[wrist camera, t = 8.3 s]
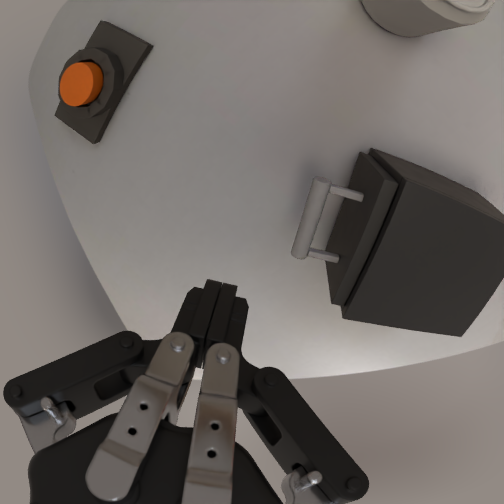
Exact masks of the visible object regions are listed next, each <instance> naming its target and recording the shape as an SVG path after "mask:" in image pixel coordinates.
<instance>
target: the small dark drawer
mask: <svg viewBox="0 0 504 504" xmlns="http://www.w3.org/2000/svg"><path fill="white" fill-rule="evenodd" d="M398 185H399V184H398V183H397V181H396V180H395V179H394V178H393V177H392V176H391V175H390V174H389V173H388V172H387V171H386V170H385V169H384V168H383V167H382V166H381V165H380V164H379V163H378V162H377V161H376V160H375V159H374V158H373V157H372V156H371V155H368V154H365V153H362V152H360V153H359V156H358V159H357V162H356V165H355V169H354V172H353V175H352V178H351V181H350V184H349V187H348V188H344V187H341V186H337V185H334V184H331V182H330V181H329V180H328V179H326V178H323V177H319V176H315V177H314V178H313V182H312V185H311V188H310V192H309V195H308V198H307V202H306V205H305V208H304V212H303V215H302V218H301V222H300V225H299V228H298V231H297V235H296V238H295V241H294V244H293V247H292V251H291V254H292V256H293V257H295V258H297V259H305V258H306V257H307V256H308V257H313V258H317V259H321V260H325V262H326V269H327V276H328V283H329V290H330V298H331V304H335V305H340V306H344V304H345V303H346V301H347V299H348V297H349V295H350V293H351V291H352V289H353V287H354V285H355V283H356V284H357V282H358V280H359V278H360V276H361V273H362V271H363V269H364V267H365V265H366V263H367V261H368V259H369V257H370V255H371V252H372V250H373V248H374V246H375V244H376V241H377V239H378V237H379V235H380V232H381V230H382V228H383V226H384V223H385V221H386V219H387V216H388V214H389V211H390V209H391V206H392V204H393V201H394V199H395V196H396V194H397V191H398V189H399V186H398ZM328 192H329V193H332V194H336V195H339V196H343V197H345V198H344V201H343V204H342V207H341V210H340V213H339V215H338V218H337V221H336V224H335V226H334V229H333V232H332V234H331V237H330V240H329V242H328V245H327V248H326V250H325V251H322V250H318V249H314V248H310V245H311V243H312V240H313V237H314V234H315V231H316V228H317V225H318V222H319V219H320V216H321V213H322V210H323V207H324V204H325V201H326V198H327V195H328Z"/></svg>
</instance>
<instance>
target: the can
mask: <svg viewBox="0 0 504 504" xmlns="http://www.w3.org/2000/svg"><path fill="white" fill-rule="evenodd" d="M361 1H362V3H363V5H364V7H365V10H366V11H367V12H368V14H369V15H370V16H371V17H372V19H373V20H374V21H375V22H376V23H378V24H379V25H380V26H382V27H383V28H384V29H386V30H388V31H390V32H392V33H394V34H396V35H400V36H405V37H417V36H422V35H426V34H430V33H434V32H438V31H442V30H447V29H451V28H456V27H461V26H467V25H472V24H475V23H478V22H480V21H482V20H484V18H485V17H486V16H487V14H488V13H489V10H490V8H491V7H492V5H493V4H494V0H361Z"/></svg>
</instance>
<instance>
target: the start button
mask: <svg viewBox="0 0 504 504" xmlns="http://www.w3.org/2000/svg"><path fill="white" fill-rule="evenodd" d="M102 86H103V74H102V71H101V69H100V67H99V66H98V65H96V64H95V63H92V62H80V63H75V64H72V65H71V66H69V67H68V68H67V69H66V71H65V72H64V74H63V76H62V78H61V81H60V94H61V97H62V99H63V100H64V102H65V103H66V104H68V105H70V106H79V105H83V104H88V103H90V102H92V101H93V100H95V99H96V98H97V96H98V95H99V93H100V92H101V89H102Z"/></svg>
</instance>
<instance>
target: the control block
mask: <svg viewBox="0 0 504 504" xmlns="http://www.w3.org/2000/svg"><path fill="white" fill-rule="evenodd" d="M152 47H153V46H152V45H151V44H149V43H147V42H145V41H143V40H142V39H140V38H138V37H136V36H134V35H132V34H130V33H129V32H127V31H125V30H123V29H121V28H119V27H117V26H115V25H113V24H111V23H109V22H106V21H100V22H99V24H98V26H97V27H96V29H95V31H94V32H93V34H92V36H91V38H90V39H89V41H88V43H87V45H86V47H85V49H83V50H79V51H78V52H77V53H76V54H74V55H73V56H72V57H71V58H70V59H69V60H68V61H67V62H66V64H65V66H64V68H63V70H62V72H61V75H60V77H59V94H58V95H59V98H60V103H59V105H58V108H57V110H56V113H55V116H56V117H57V118H58V119H60V120H61V121H63V122H64V123H65V124H67V125H68V126H69V127H71V128H72V129H73V130H75V131H76V132H77V133H79V134H80V135H82V136H83V137H84V138H86V139H87V140H88V141H90V142H91V143H92V144H96V143H98V142H100V140H101V138H102V135H103V133H104V131H105V129H106V127H107V125H108V123H109V121H110V119H111V117H112V115H113V113H114V111H115V109H116V107H117V105H118V104H119V102H120V100H121V98H122V96H123V94H124V93H125V91H126V89H127V87H128V86H129V84H130V82H131V81H132V79H133V77H134V75H135V74H136V72H137V71H138V69H139V67H140V66H141V64H142V63H143V61H144V59H145V58H146V56H147V55H148V53H149V52H150V50H151V49H152ZM80 62H92V63H95V64H96V65H98V66H99V67H100V69H101V71H102V74H103V86H102V89H101V92H100V93H99V95H98V96H97V98H96V99H95V100H93V101H92V102H90V103H88V104H83V105H79V106H70V105H68V104H66V103H65V102H64V100H63V99H62V97H61V94H60V81H61V78H62V76H63V74H64V72H65V71H66V69H67V68H68V67H69V66H71V65H72V64H75V63H80Z"/></svg>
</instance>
